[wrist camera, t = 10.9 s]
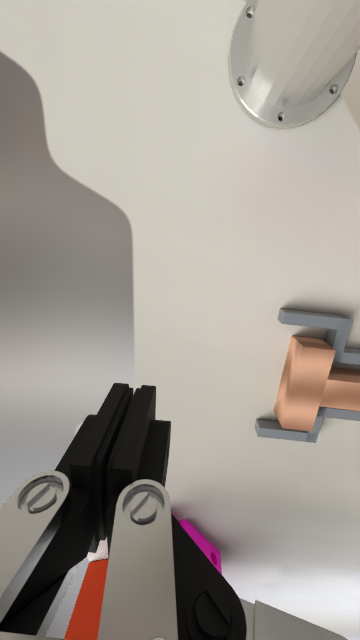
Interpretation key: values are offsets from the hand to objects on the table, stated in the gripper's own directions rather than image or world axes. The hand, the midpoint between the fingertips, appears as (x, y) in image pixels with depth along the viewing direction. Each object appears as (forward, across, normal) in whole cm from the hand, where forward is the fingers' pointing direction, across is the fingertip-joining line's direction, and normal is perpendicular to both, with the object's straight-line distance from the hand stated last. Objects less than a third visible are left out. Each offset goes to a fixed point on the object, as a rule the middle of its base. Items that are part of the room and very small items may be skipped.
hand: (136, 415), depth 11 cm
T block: (+26, -22, +12) cm, 36 cm away
